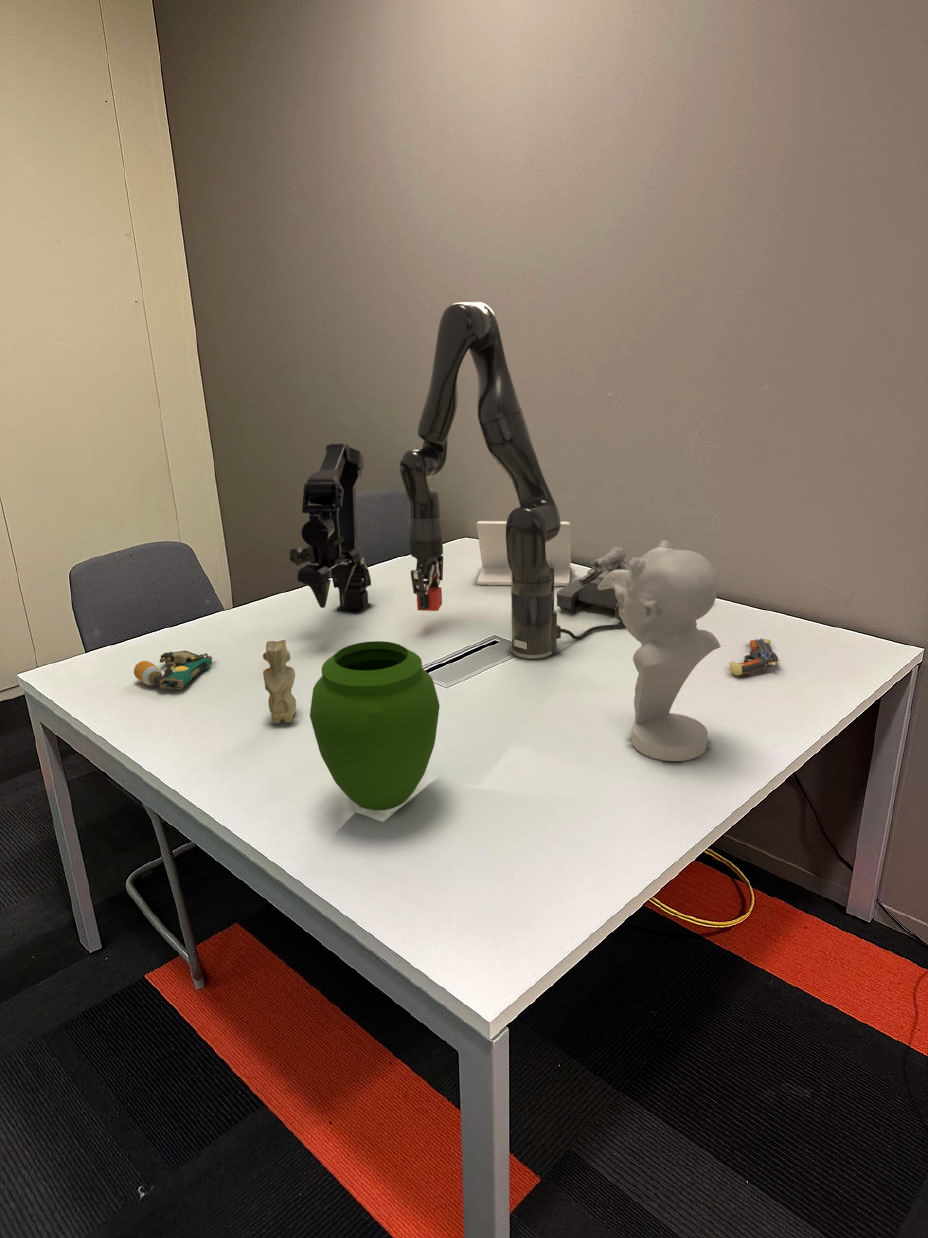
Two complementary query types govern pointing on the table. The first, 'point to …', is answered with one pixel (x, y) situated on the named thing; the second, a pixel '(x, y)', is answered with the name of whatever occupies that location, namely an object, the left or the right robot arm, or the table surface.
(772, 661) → the toy gun
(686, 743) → the bust sculpture
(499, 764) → the table surface
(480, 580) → the tablet stand
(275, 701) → the sculpture
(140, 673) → the spray gun
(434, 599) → the brick
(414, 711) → the vase
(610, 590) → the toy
